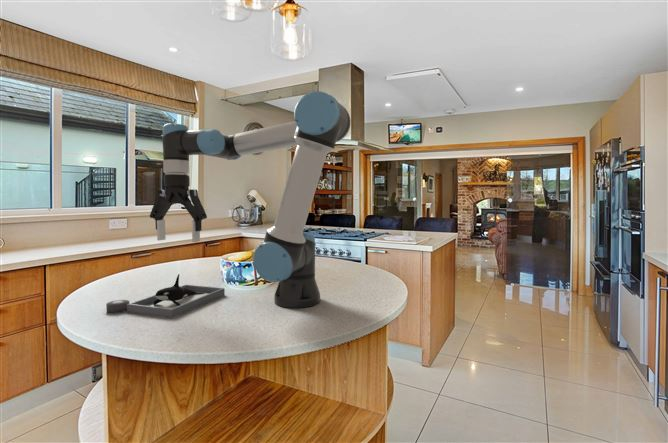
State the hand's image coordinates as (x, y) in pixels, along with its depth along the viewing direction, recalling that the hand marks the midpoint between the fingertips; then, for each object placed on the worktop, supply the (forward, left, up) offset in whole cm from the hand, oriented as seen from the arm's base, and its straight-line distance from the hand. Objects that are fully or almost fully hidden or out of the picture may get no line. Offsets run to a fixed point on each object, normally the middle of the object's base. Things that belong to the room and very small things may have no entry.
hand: (178, 240), depth 116 cm
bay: (0, 0, -20) cm, 20 cm away
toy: (0, 0, -20) cm, 20 cm away
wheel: (+13, +12, -21) cm, 27 cm away
